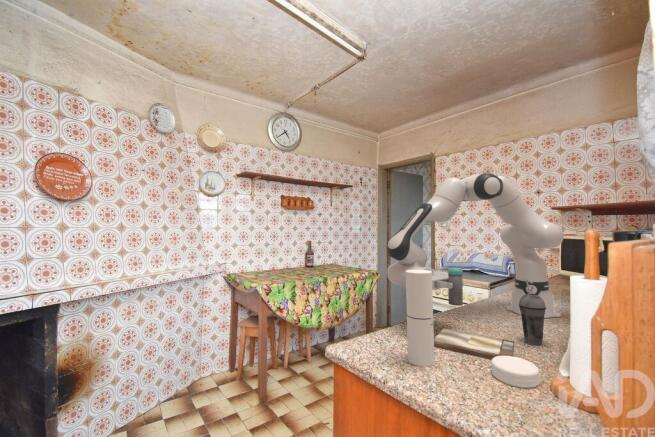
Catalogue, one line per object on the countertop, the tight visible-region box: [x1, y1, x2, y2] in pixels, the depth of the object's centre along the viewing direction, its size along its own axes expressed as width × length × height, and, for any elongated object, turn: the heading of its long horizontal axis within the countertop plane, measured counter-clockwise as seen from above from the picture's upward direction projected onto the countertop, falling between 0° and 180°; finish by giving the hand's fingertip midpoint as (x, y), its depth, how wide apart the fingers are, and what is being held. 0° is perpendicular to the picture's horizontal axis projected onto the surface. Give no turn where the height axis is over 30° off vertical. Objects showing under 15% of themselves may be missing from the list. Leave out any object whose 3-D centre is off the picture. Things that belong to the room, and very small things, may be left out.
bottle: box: [447, 267, 464, 307], centre depth 97 cm, size 5×5×12 cm
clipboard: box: [434, 327, 515, 361], centre depth 90 cm, size 15×22×2 cm
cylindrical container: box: [405, 270, 435, 368], centre depth 81 cm, size 7×7×25 cm
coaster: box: [490, 356, 540, 389], centre depth 71 cm, size 10×10×4 cm
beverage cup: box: [519, 280, 546, 346], centre depth 92 cm, size 7×7×20 cm
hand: (457, 285), depth 96 cm, fingers closed on bottle, 4 cm apart
